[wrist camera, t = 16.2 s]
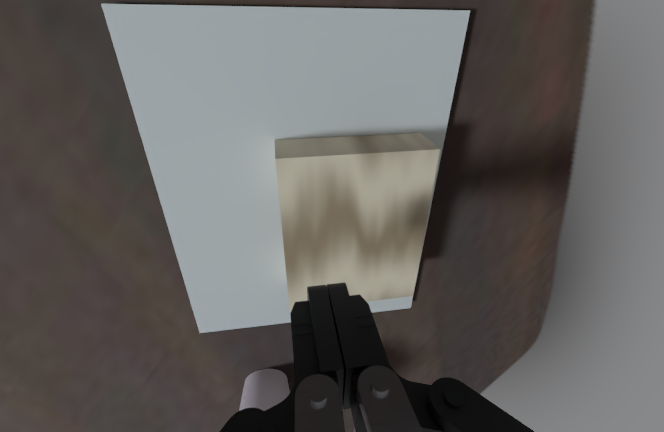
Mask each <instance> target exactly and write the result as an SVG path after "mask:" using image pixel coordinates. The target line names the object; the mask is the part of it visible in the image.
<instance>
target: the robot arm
mask: <svg viewBox="0 0 664 432" xmlns="http://www.w3.org/2000/svg"><path fill="white" fill-rule="evenodd" d="M290 315H291V328H292V341H293V353H294V366H295V383H294V387H293V389H292V391H291V392H290V394H289V395H288V396H287V397H286V398H285V399H284V400H283V401H282V402H280V403H279V404H277V405H275V406H273V407H271V408H269V409H267V410H265V411H263V410H261V409H259V408H246V409H243V410H240V411H239V412H237V413H235V414H234V415H233V416H232V417H231V418H230V419H229V420H228V422H227V423H226V424H225V426H224V427H223V428H222V429H221V431H220V432H345V427H344V419H343V410H342V404H343V409H348V408H351V411H352V416H353V420H354V425H353V432H534V431H533V430H531V429H530V428H528V427H527V426H525V425H524V424H522V423H521V422H519V421H518V420H517V419H515V418H514V417H512V416H511V415H509V414H508V413H506V412H504V411H503V410H502V409H500V408H499V407H497V406H496V405H494V404H493V403H492V402H490V401H489V400H487V399H485V398H484V397H483V396H481V395H480V394H478V393H477V392H475V391H474V390H473V389H471V388H470V387H468V386H467V385H465V384H464V383H462V382H460V381H459V380H456V379H453V378H440V379H438V380H436V381H435V382H434V383H433V384H432V385H427V384H422V383H416V382H411V381H408V380H406V379H404V378H402V377H400V376H399V375H398V374H397V373H395V372H394V370H393V369H392V368H391V366H390V364H389V362H388V359H387V356H386V353H385V351H384V348H383V345H382V342H381V339H380V336H379V333H378V330H377V327H376V324H375V321H374V318H373V317H372V313H371V310H370V307H369V304H368V303H367V302H366V301H365V300H364V298H363V297H362V296H361V295H360V294H359V295H351V296H349V293H348V289H347V286H346V283H335V284H327V285H318V286H309V287H307V301H300V302H295V303H294V306H293V308H292V311H291V313H290Z"/></svg>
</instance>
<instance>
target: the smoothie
mask: <svg viewBox="0 0 664 432" xmlns="http://www.w3.org/2000/svg"><path fill="white" fill-rule="evenodd" d="M289 394H290V391H289V386H288V380H287V376H286V375H285V373H283V372H282V371H280V370H277V369H261V370H258V371H255V372H253V373H251V374H250V375H249V376H248V377H247V378H246V380H245V383H244V389H243V394H242V399H241V404H240V409H239V411H240V410H243V409H246V408H259V409H261V410H263V411H265V410H267V409H269V408H271V407H273V406H275V405H277V404H279V403H280V402H282V401H283V400H284V399H285V398H286V397H287V396H288V395H289Z"/></svg>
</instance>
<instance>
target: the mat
mask: <svg viewBox="0 0 664 432" xmlns="http://www.w3.org/2000/svg"><path fill="white" fill-rule="evenodd" d="M101 5H102V8H103V12H104V15H105V18H106V22H107V25H108V28H109V32H110V35H111V38H112V42H113V45H114V48H115V52H116V55H117V58H118V62H119V65H120V68H121V72H122V75H123V78H124V82H125V85H126V88H127V92H128V95H129V98H130V102H131V105H132V108H133V112H134V115H135V119H136V122H137V125H138V129H139V132H140V135H141V139H142V142H143V145H144V149H145V152H146V155H147V159H148V162H149V165H150V169H151V172H152V175H153V179H154V182H155V185H156V189H157V192H158V195H159V199H160V202H161V205H162V209H163V212H164V215H165V219H166V222H167V225H168V229H169V232H170V235H171V239H172V242H173V245H174V249H175V252H176V255H177V259H178V262H179V266H180V269H181V272H182V276H183V279H184V282H185V286H186V289H187V292H188V296H189V299H190V302H191V306H192V309H193V312H194V316H195V319H196V322H197V326H198V329H199V332H200V333H205V332H213V331H222V330H230V329H238V328H247V327H255V326H264V325H272V324H280V323H289V322H291V315H290V313H291V311H290V309H289V298H288V288H287V277H286V266H285V256H284V245H283V234H282V224H281V213H280V202H279V191H278V181H277V170H276V159H275V140H285V139H304V138H324V137H344V136H364V135H384V134H404V133H421V134H422V135H423V136H425V137H426V138H427V139H428V140H430V141H431V142H432V143H433V144H435V145H436V146H437V147H438V148H440V154H439V160H438V165H437V170H436V176H435V181H434V186H433V192H432V197H431V203H430V208H429V213H428V219H429V214H430V209H431V204H432V199H433V194H434V189H435V184H436V179H437V175H438V170H439V165H440V160H441V155H442V150H443V145H444V140H445V135H446V130H447V125H448V120H449V115H450V110H451V105H452V100H453V95H454V90H455V85H456V80H457V75H458V70H459V65H460V60H461V55H462V50H463V45H464V40H465V35H466V30H467V25H468V20H469V15H470V10H419V9H365V8H311V7H256V6H202V5H148V4H101ZM428 219H427V224H428ZM427 224H426V229H427ZM426 229H425V234H426ZM424 239H425V235H424ZM423 244H424V240H423ZM422 249H423V246H422ZM421 254H422V251H421ZM420 259H421V256H420ZM419 264H420V262H419ZM418 269H419V267H418ZM417 274H418V273H417ZM416 279H417V278H416ZM415 284H416V283H415ZM412 299H413V296H409V297H401V298H392V299H384V300H376V301H368V302H367V303H368V304H369V307H370V310H371V313H373V312H381V311H389V310H398V309H406V308H411V304H412Z"/></svg>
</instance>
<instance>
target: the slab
mask: <svg viewBox="0 0 664 432" xmlns="http://www.w3.org/2000/svg"><path fill="white" fill-rule="evenodd" d="M439 154H440V148H438V147H437V146H436V145H435V144H433V143H432V142H431V141H430V140H428V139H427V138H426V137H425V136H423V135H422V134H421V133H404V134H384V135H364V136H344V137H324V138H304V139H285V140H275V159H276V170H277V181H278V191H279V202H280V213H281V224H282V234H283V245H284V256H285V266H286V277H287V288H288V298H289V309H290V311H292V308H293V306H294V303H295V302H300V301H307V287H309V286H318V285H327V284H335V283H346V286H347V289H348V293H349V296H351V295H359V294H360V295H361V296H362V297H363V298H364V300H365V301H366V302H368V301H376V300H384V299H392V298H401V297H409V296H413V294H414V289H415V283H416V278H417V273H418V267H419V262H420V256H421V251H422V246H423V240H424V235H425V229H426V224H427V219H428V213H429V208H430V203H431V197H432V192H433V186H434V181H435V176H436V170H437V165H438V160H439Z"/></svg>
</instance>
